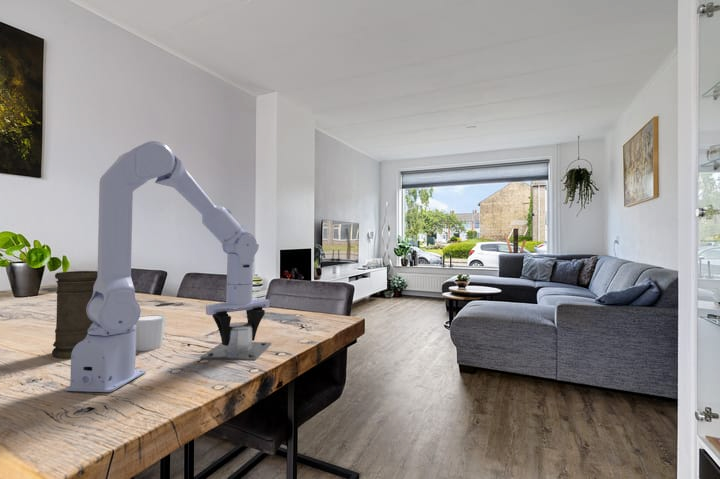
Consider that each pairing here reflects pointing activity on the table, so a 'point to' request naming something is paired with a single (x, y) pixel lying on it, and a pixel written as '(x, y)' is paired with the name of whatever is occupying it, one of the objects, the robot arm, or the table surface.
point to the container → (72, 310)
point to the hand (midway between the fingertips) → (238, 342)
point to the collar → (239, 337)
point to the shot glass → (149, 332)
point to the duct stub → (252, 354)
